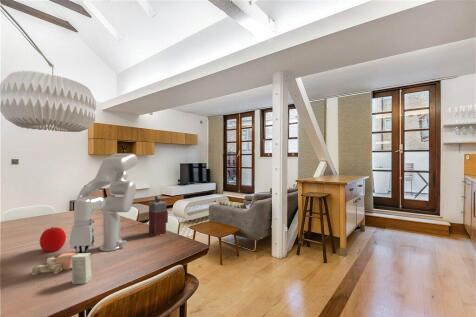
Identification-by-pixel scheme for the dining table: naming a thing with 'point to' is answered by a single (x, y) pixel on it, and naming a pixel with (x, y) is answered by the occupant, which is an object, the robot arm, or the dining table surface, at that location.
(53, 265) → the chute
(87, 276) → the skincare box
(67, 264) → the block
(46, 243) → the tomato
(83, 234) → the robot arm
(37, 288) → the dining table surface
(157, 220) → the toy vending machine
